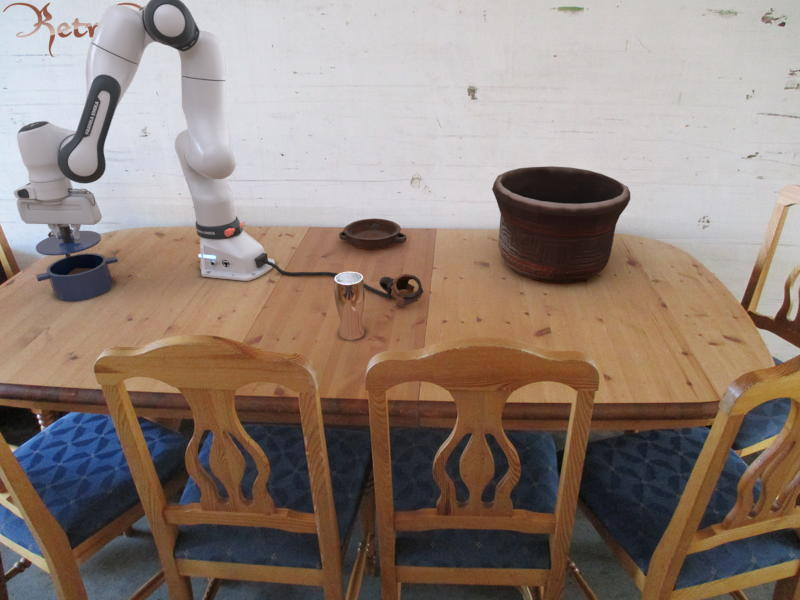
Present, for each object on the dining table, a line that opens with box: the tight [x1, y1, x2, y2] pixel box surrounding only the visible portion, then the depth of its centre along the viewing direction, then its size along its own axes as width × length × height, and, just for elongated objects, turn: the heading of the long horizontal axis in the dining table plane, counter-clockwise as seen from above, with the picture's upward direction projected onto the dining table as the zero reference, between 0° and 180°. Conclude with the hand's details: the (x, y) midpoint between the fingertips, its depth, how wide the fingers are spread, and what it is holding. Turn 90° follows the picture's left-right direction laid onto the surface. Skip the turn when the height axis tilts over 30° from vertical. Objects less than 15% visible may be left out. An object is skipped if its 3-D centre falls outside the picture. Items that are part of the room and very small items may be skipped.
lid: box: [35, 224, 102, 257], centre depth 152 cm, size 16×16×6 cm
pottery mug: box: [378, 273, 424, 309], centre depth 151 cm, size 12×10×8 cm
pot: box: [35, 252, 119, 302], centre depth 158 cm, size 15×20×8 cm
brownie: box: [67, 268, 94, 275], centre depth 159 cm, size 6×6×4 cm
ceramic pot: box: [491, 165, 631, 284], centre depth 163 cm, size 37×37×25 cm
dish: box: [338, 217, 407, 250], centre depth 185 cm, size 18×22×5 cm
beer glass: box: [333, 271, 366, 341], centre depth 134 cm, size 7×7×15 cm
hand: (68, 238), depth 153 cm, fingers closed on lid, 2 cm apart
